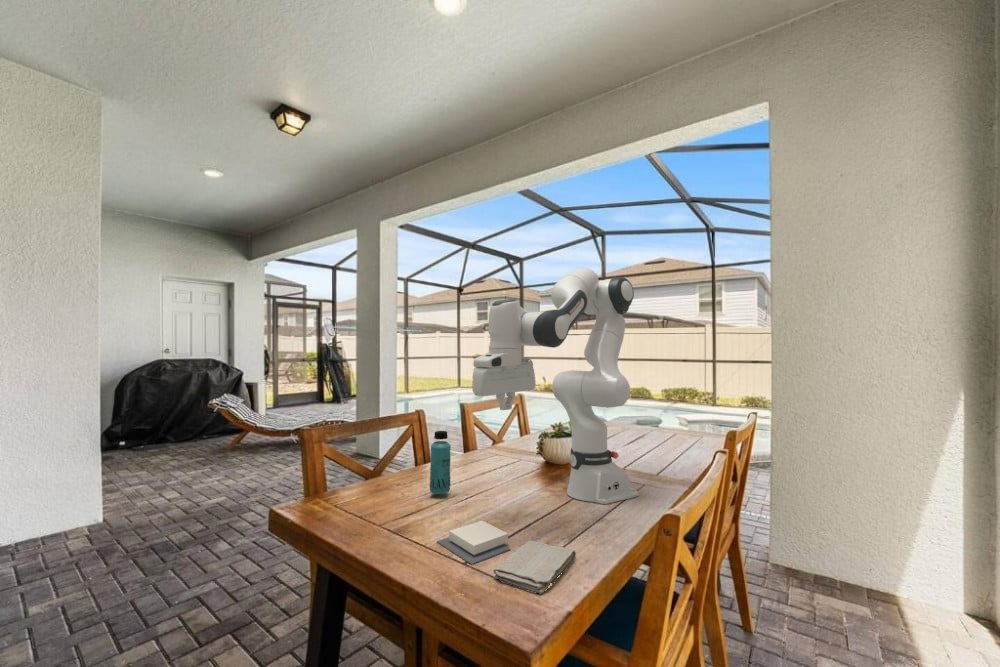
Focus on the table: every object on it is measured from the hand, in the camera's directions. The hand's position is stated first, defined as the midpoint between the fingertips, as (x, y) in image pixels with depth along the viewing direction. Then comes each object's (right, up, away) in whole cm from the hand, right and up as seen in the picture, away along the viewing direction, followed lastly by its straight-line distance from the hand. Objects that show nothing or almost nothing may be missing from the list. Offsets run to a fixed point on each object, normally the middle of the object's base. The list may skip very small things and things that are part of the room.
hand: (505, 409), depth 121 cm
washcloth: (+6, -30, -27) cm, 40 cm away
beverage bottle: (-20, -30, +18) cm, 41 cm away
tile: (-3, -28, -12) cm, 31 cm away
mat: (-8, -29, -17) cm, 35 cm away
